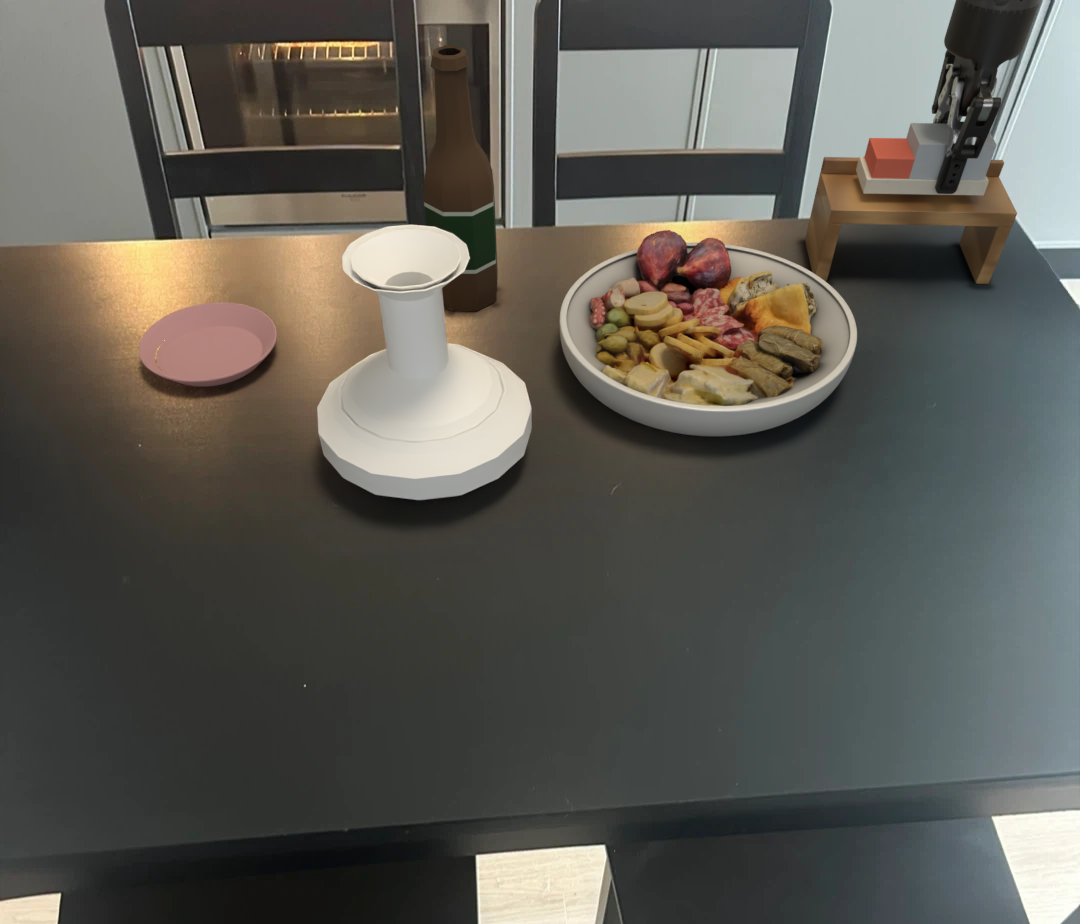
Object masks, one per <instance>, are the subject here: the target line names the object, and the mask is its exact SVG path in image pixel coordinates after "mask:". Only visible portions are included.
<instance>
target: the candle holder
mask: <svg viewBox="0 0 1080 924" xmlns="http://www.w3.org/2000/svg"><path fill="white" fill-rule="evenodd" d="M469 259H470V256H469V252H468V248H467V245H466V244H465V243H464V242H463V241H462V240H460V239H459V238H458V237H457V236H455V235H454V234H453V233H450V232H447V231H445V230H442V229H439V228H437V227H433V226H426V225H421V224H419V225H418V224H401V225H391V226H390V225H389V226H383V227H381V228H379V229H376V230H373V231H369V232H366V233H364V234H363V235H361V236H359V237H358V238H356V239H355V240H354V241H352V242H350V243H349V244H348V245H347V247H346V249H345V250H344V252H343V254H342V255H341V261H342V270H343V272H344V273H345V274H346V275H347V276H348V277H349V278H350V279H351V280H353V282H354V283H355V284H358V285H359V286H362V287H364V288H366V289H368V290H371V291H373V292H374V293H376V294H377V297H378V304H379V309H380V316H381V323H382V328H383V336H384V342H385V348H384V349H381V350H379V351H376V352H374V353H372V354H369V355H368V356H366V357H365V358H363V359H361V360H360V361H358V362H356V363H355V364H353V366H351V367H349V368H348V369H347V370H345V371H344V372H343V373H341V374H340V375H338V377H335V378H333V380H332V381H330V382H329V384H328V386H327V388H326V390H325V392H324V394H323V395H322V397H321V399H320V401H319V403H318V405H317V407H316V411H317V431H318V432H317V433H318V438H319V442H320V447H321V450H322V454H323V456H324V457H325V458H326V460H327V461H328V462H329V463H330V464H331V466H332V467H333V468H334V469H335V470H336V471H337V473H338V474H339V475H340V476H341V477H342V478H343V479H345V480H346V481H348V482H349V483H352V484H353V485H356V486H358V487H360V488H362V489H364V490H366V491H367V492H369V493H371V494H373V495H375V496H382V497H391V498H399V499H407V500H415V501H426V500H435V499H444V498H451V497H459V496H463V495H465V494H467V493H469V492H472V491H474V490H476V489H478V488H480V487H483V486H485V485H488V484H489V483H492V482H494V481H496V480H498V479H500V478H501V477H502V476H503V475H505V473H506V472H507V471H508V470H509V469H511V468H512V467H513V466H514V465H515V464H516V463H518V461H520V459H522V458H523V457H524V456H525V454H526V449H527V446H528V442H529V439H530V436H531V433H532V431H533V430H532V429H533V428H532V427H533V423H532V422H533V421H532V416H533V415H532V404H531V400H530V398H529V393H528V389H527V386H526V382H525V381H523V379H522V378H521V377H520V376H518V375H517V374H516V373H515V372H513V371H512V370H511V369H510V368H509V367H508V366H507V365H506V364H505V363H504V362H502V361H499V360H497V359H494V358H493V357H490V356H487V355H485V354H483V353H480V352H478V351H475V350H473V349H471V348H469V347H466V346H463V345H461V344H457V343H448V338H447V328H446V317H445V316H446V315H445V306H444V304H443V294H442V288H443V287H444V286H445V285H447V284H448V283H449V282H451V281H452V280H453V279H455V278H456V277H457V276H459V275H460V274H461V273H463V272H464V271H465V268H466V266H467V264H468V261H469Z"/></svg>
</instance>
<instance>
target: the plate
mask: <svg viewBox="0 0 1080 924" xmlns="http://www.w3.org/2000/svg"><path fill="white" fill-rule="evenodd" d="M277 339H278V330H277V327H276V325H275V323H274V321H273V319H272V318H271V317H270V316H269V315H268V314H266V312H264V311H262V310H260V309H258V308H256V307H253V306H250V305H247V304H242V303H236V302H226V301H224V302H223V301H221V302H220V301H218V302H206V303H199V304H194V305H191V306H187V307H183V308H180V309H178V310H176V311H173V312H171V313H169V314H167V315H165V316H163V317H162V318H160V319H158V320H157V321H156V322H154V323H153V324H152V325H151V326H150V327H149V328H148V329H147V330H146V331H145V332H144V334H143V336H142V337H141V338H140V342H139V344H138V355H139V359H140V361H141V363H142V364H143V365H144V367H146V369H147V370H149V371H150V372H151V373H153V374H155V375H157V376H158V377H161V378H163V379H165V380H166V379H167V380H169V381H173V382H175V383H177V384H182V385H185V386H189V387H214V386H220V385H226V384H230V383H232V382H235V381H237V380H239V379H241V378H244V377H245V376H247V375H249V374H250V373H252V372H253V371H254V370H255V369H256V368H257V367H259V365H260V364H261V363H262V362H263V361H264V360H265V359H266V358H267V357H268V356H269V354H270V353H271V351H272V350H273V349H274V347H275V345H276V343H277ZM164 340H165V341H164ZM161 344H162V345H161ZM160 345H161V346H160ZM159 346H160V348H159V350H158V352H157V363H158V366H159V367H160V369H161V370H162V371H163V372H164V373H165V374H164V373H163V372H162V371H161V370H160V369H159V368H158V367H157V365H156V363H155V358H154V357H155V353H156V350H157V348H158V347H159ZM166 374H167V375H166Z"/></svg>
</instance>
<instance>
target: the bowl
mask: <svg viewBox="0 0 1080 924" xmlns="http://www.w3.org/2000/svg"><path fill="white" fill-rule="evenodd" d="M559 312H560V313H559V338H560V343H561V348H562V352H563V355H564V358H565V360H566V362H567V364H568V367H569V368H570V370H571V372H572V373H573V375H574V376H575V378H576V379H577V381H578V382H579V383H580V384H581V385H582V387H583V388H584V389H586V391H587V392H589V394H591V395H592V396H593V397H594V398H595V399H596V400H597V401H599V402H600V403H602V404H603V405H604V406H606V407H607V408H608V409H610V410H612V411H613V412H615V413H618V414H619V415H621V416H623V417H625V418H627V419H629V420H631V421H634V422H636V423H639V424H642V425H645V426H647V427H651V428H654V429H657V430H661V431H665V432H669V433H675V434H681V435H688V436H697V437H732V436H741V435H748V434H754V433H759V432H763V431H767V430H770V429H774V428H777V427H780V426H782V425H785V424H787V423H790V422H792V421H794V420H797V419H799V418H801V417H802V416H804V415H806V414H808V413H809V412H811V410H813V409H815V408H816V407H818V406H819V405H820V404H822V403H823V402H824V401H825V400H826V399H827V398H828V397H829V396H831V394H832V393H833V392H834V391H835V390H836V388H837V387H838V386H839V385H840V384H841V382H842V380H843V379H844V377H845V375H846V374H847V372H848V370H849V368H850V365H851V364H852V360H853V358H854V354H855V351H856V347H857V342H858V327H857V324H856V320H855V316H854V315H853V312H852V310H851V308H850V306H849V305H848V304H847V302H846V301H845V299H844V298H843V296H842V295H841V294H840V293H839V292H838V291H837V290H836V289H835V288H834V287H833V286H832V285H830V284H829V283H828V282H827V281H824V280H823V279H821V278H820V277H819V276H817V275H816V274H814V273H812V270H811V271H810V270H809V269H808V268H805V267H803V266H802V265H799V264H797V263H795V262H793V261H791V260H788V259H786V258H783V257H781V256H779V255H776V254H772V253H769V252H765V251H762V250H757V249H754V248H750V247H749V248H748V247H745V246H740V245H734V244H725V243H724V242H723V241H722V240H720V239H718V238H715V237H707V238H704V239H702V240H700V241H699V242H686V240H685V239H684V238H683V237H682V235H680V234H678V233H677V232H675V231H672V230H670V229H668V230H667V229H665V230H664V229H663V230H659V231H656V232H652V233H651V234H649V235H647V236H645V237H644V238H643V240H642V241H641V243H640V246H639V247H638V248H637V249H632V250H630V251H626V252H623V253H621V254H618V255H615V256H613V257H611V258H608V259H606V260H603V261H602V262H600V263H599V264H597V265H595V266H594V267H592V268H590V269H589V270H587V271H586V272H585V273H583V275H581V276H580V277H579V278H578V279H577V280H576V281H575V282H574V283H573V284H572V285H571V287H570V288H569V289H568V291H567V293H566V294H565V297H564V298H563V301H562V303H561V306H560V310H559Z"/></svg>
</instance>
